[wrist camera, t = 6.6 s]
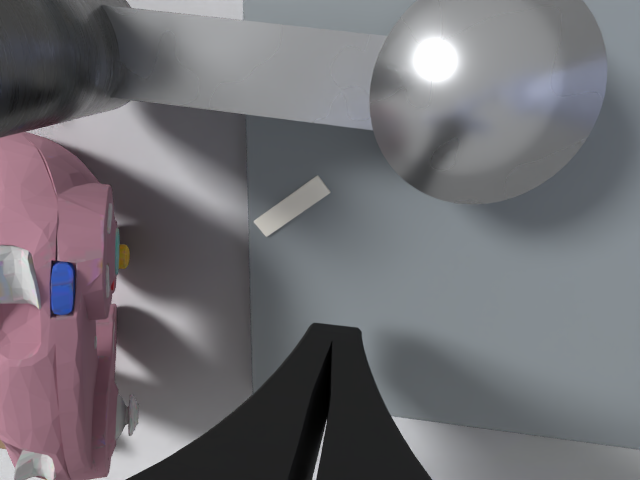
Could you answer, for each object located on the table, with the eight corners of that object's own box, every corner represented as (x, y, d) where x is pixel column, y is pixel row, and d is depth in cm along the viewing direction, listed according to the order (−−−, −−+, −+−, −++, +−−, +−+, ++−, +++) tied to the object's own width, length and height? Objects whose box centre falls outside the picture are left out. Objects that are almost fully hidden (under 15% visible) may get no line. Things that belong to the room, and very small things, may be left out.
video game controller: (139, 361, 19) (135, 526, 13) (12, 370, 17) (-59, 565, 11) (145, 130, 15) (142, 222, 9) (-24, 112, 13) (-166, 211, 7)
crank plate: (1365, -775, 6) (1468, -860, 5) (691, 447, 15) (703, 463, 14) (234, -645, 7) (222, -701, 7) (255, 389, 16) (251, 401, 16)
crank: (592, -8, 9) (804, -60, 5) (530, 187, 11) (638, 293, 7) (38, -62, 10) (-251, -149, 6) (65, 125, 12) (-138, 178, 8)
